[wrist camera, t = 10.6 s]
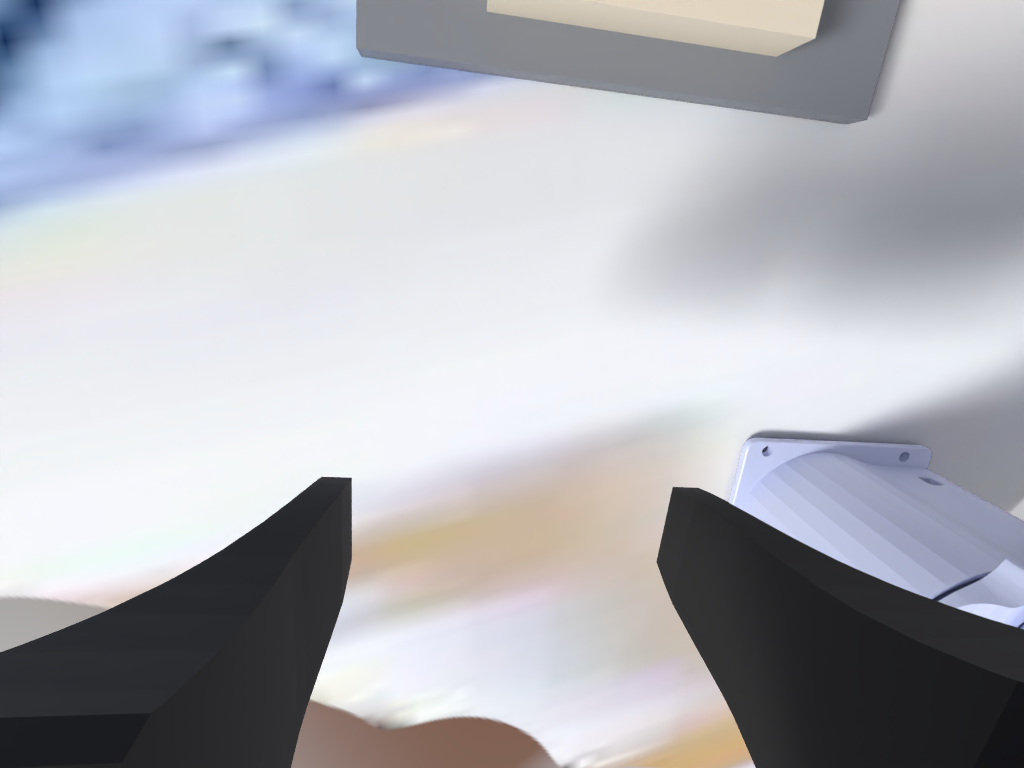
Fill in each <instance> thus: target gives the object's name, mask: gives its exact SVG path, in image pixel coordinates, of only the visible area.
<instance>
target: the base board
mask: <svg viewBox="0 0 1024 768" xmlns="http://www.w3.org/2000/svg"><path fill="white" fill-rule="evenodd" d="M899 3H900V0H357V19H356V48H357V49H358V51H359V53H360V55H361V56H362V57H368V58H375V59H382V60H389V61H397V62H404V63H411V64H418V65H425V66H433V67H440V68H447V69H454V70H461V71H468V72H476V73H483V74H490V75H497V76H504V77H511V78H519V79H526V80H533V81H540V82H547V83H554V84H562V85H569V86H576V87H583V88H590V89H598V90H605V91H612V92H619V93H626V94H633V95H641V96H648V97H655V98H662V99H669V100H676V101H684V102H691V103H698V104H705V105H712V106H719V107H727V108H734V109H741V110H748V111H755V112H763V113H770V114H777V115H784V116H791V117H798V118H806V119H813V120H820V121H827V122H834V123H841V124H850V123H855V122H859V121H864V120H867V117H868V113H869V110H870V106H871V103H872V99H873V96H874V92H875V88H876V85H877V81H878V78H879V74H880V71H881V67H882V63H883V60H884V56H885V53H886V49H887V46H888V42H889V38H890V35H891V31H892V28H893V24H894V21H895V17H896V13H897V10H898V6H899Z"/></svg>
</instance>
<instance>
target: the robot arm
mask: <svg viewBox="0 0 1024 768" xmlns="http://www.w3.org/2000/svg"><path fill="white" fill-rule="evenodd" d="M766 446H768V449H767V450H766V451H765V452H763V453H762V450H763V449H764V448H765V447H766ZM901 454H902V455H901ZM900 455H901V456H900ZM899 456H900V457H899ZM931 457H932V452H931V450H930V449H929V448H927V447H925V446H923V445H912V444H890V443H867V442H844V441H822V440H799V439H777V438H751V439H749V440H747V442H746V443H745V444H744V446H743V449H742V453H741V457H740V460H739V464H738V468H737V472H736V476H735V480H734V484H733V488H732V491H731V495H730V499H729V502H727V501H725V500H723V499H721V498H719V497H717V496H715V495H713V494H711V493H709V492H707V491H704V490H702V489H699V488H684V487H673V489H672V494H671V498H670V503H669V507H668V512H667V516H666V521H665V526H664V530H663V535H662V539H661V544H660V549H659V553H658V558H657V564H658V567H659V570H660V573H661V575H662V578H663V581H664V584H665V586H666V589H667V591H668V594H669V596H670V599H671V601H672V603H673V605H674V607H675V609H676V611H677V613H678V615H679V616H680V618H681V620H682V622H683V624H684V626H685V628H686V629H687V631H688V633H689V635H690V637H691V639H692V640H693V642H694V644H695V646H696V648H697V649H698V651H699V653H700V655H701V657H702V658H703V660H704V662H705V664H706V666H707V667H708V669H709V671H710V673H711V675H712V676H713V678H714V680H715V682H716V684H717V685H718V687H719V689H720V691H721V693H722V694H723V696H724V698H725V700H726V702H727V704H728V706H729V708H730V710H731V712H732V714H733V716H734V718H735V721H736V723H737V725H738V728H739V730H740V732H741V735H742V737H743V739H744V741H745V744H746V746H747V748H748V751H749V753H750V755H751V758H752V760H753V762H754V764H755V767H756V768H1024V521H1022V520H1021V519H1019V518H1017V517H1015V516H1013V515H1011V514H1010V513H1008V512H1006V511H1004V510H1002V509H1000V508H998V507H997V506H995V505H993V504H991V503H989V502H987V501H985V500H984V499H982V498H980V497H978V496H976V495H974V494H972V493H971V492H969V491H967V490H965V489H963V488H961V487H960V486H958V485H956V484H954V483H952V482H950V481H948V480H947V479H945V478H943V477H941V476H939V475H937V474H935V473H934V472H932V471H930V470H928V469H927V468H928V465H929V463H930V460H931ZM351 560H352V478H340V477H321V478H320V479H318V480H317V481H316V482H314V483H313V484H312V485H310V486H309V487H308V488H307V489H305V490H304V491H303V492H302V493H300V494H299V495H298V496H297V497H295V498H294V499H293V500H292V501H290V502H289V503H288V504H286V505H285V506H284V507H282V508H281V509H280V510H279V511H277V512H276V513H275V514H273V515H272V516H271V517H269V518H268V519H267V520H265V521H264V522H263V523H261V524H260V525H258V526H257V527H255V528H254V529H252V530H251V531H249V532H248V533H246V534H245V535H244V536H242V537H241V538H239V539H238V540H236V541H235V542H233V543H232V544H230V545H229V546H227V547H226V548H224V549H223V550H221V551H220V552H218V553H216V554H215V555H213V556H212V557H210V558H208V559H207V560H205V561H203V562H202V563H200V564H198V565H196V566H194V567H193V568H191V569H189V570H187V571H185V572H184V573H182V574H180V575H178V576H176V577H175V578H173V579H171V580H169V581H167V582H165V583H163V584H161V585H159V586H157V587H155V588H153V589H151V590H149V591H147V592H145V593H142V594H140V595H138V596H136V597H134V598H132V599H130V600H128V601H126V602H124V603H121V604H119V605H117V606H115V607H113V608H111V609H109V610H107V611H105V612H102V613H100V614H98V615H95V616H93V617H91V618H88V619H86V620H83V621H81V622H79V623H76V624H74V625H71V626H69V627H66V628H64V629H62V630H59V631H57V632H54V633H51V634H49V635H46V636H44V637H41V638H38V639H36V640H33V641H30V642H28V643H25V644H23V645H20V646H17V647H14V648H12V649H9V650H6V651H4V652H0V768H291V764H292V760H293V755H294V752H295V748H296V744H297V740H298V735H299V732H300V728H301V725H302V722H303V718H304V715H305V711H306V708H307V705H308V702H309V699H310V696H311V694H312V691H313V688H314V685H315V682H316V679H317V676H318V673H319V670H320V667H321V665H322V662H323V659H324V656H325V653H326V650H327V647H328V644H329V641H330V639H331V636H332V633H333V630H334V627H335V624H336V621H337V618H338V615H339V612H340V609H341V606H342V603H343V598H344V594H345V589H346V585H347V580H348V575H349V570H350V565H351Z"/></svg>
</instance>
